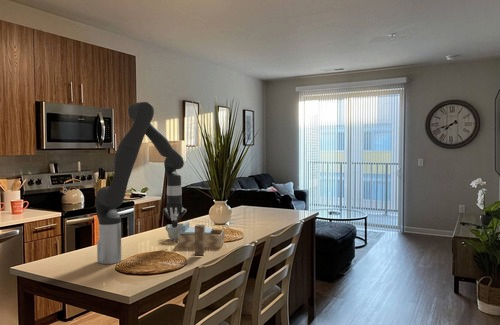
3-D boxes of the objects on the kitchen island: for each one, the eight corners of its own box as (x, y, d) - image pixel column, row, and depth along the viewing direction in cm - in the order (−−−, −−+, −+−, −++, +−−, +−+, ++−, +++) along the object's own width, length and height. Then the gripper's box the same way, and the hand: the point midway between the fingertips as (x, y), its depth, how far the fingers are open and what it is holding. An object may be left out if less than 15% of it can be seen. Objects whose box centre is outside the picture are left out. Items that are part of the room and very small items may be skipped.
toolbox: (178, 248, 187) (177, 234, 187) (183, 242, 200) (183, 229, 200) (221, 249, 186) (221, 235, 186) (224, 242, 199) (224, 229, 199)
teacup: (191, 239, 206) (191, 225, 206) (175, 243, 198) (175, 228, 198) (176, 235, 216) (176, 221, 216) (160, 238, 208) (160, 224, 208)
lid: (179, 234, 187) (179, 226, 187) (185, 228, 200) (185, 221, 200) (209, 234, 187) (209, 226, 186) (213, 229, 199) (213, 221, 199)
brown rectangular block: (194, 255, 174) (194, 226, 174) (196, 253, 178) (196, 224, 178) (203, 256, 174) (203, 226, 174) (204, 253, 178) (204, 224, 178)
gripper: (188, 193, 197) (188, 226, 197) (163, 193, 197) (164, 225, 198) (185, 195, 189) (185, 229, 190) (159, 195, 190) (160, 228, 190)
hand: (174, 227), depth 194 cm, fingers closed
